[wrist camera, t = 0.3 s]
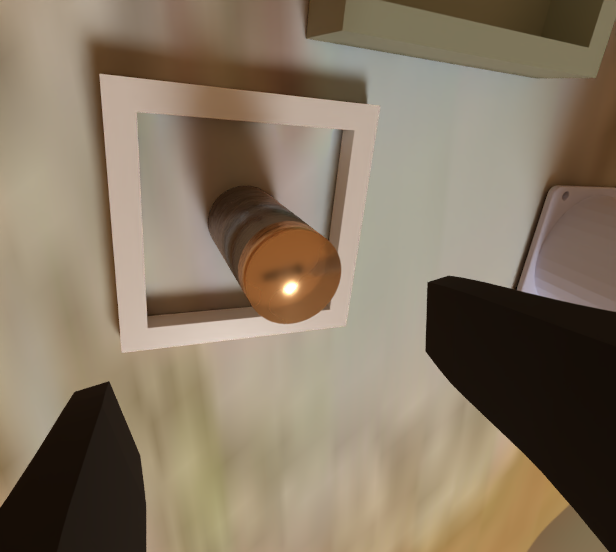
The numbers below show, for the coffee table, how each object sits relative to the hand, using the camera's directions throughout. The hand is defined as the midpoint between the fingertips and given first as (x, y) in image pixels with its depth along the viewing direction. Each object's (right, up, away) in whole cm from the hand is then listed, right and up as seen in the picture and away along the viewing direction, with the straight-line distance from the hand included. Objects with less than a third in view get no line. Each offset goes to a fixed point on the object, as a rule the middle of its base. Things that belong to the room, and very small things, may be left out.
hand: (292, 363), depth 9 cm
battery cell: (-2, +4, +8) cm, 9 cm away
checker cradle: (-2, +4, +8) cm, 9 cm away
